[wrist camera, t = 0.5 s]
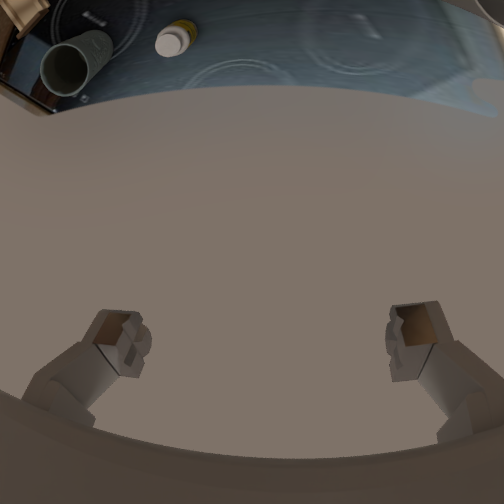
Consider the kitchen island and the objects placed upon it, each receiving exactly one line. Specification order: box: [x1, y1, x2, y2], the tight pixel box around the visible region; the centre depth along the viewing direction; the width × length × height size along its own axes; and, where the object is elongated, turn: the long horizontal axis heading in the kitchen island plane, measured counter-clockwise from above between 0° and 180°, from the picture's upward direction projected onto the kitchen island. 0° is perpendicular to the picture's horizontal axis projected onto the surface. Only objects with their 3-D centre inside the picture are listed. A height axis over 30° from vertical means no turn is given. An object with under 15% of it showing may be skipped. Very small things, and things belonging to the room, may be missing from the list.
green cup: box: [40, 30, 113, 96], centre depth 40 cm, size 10×10×12 cm
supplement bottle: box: [155, 19, 198, 57], centre depth 40 cm, size 5×5×10 cm
